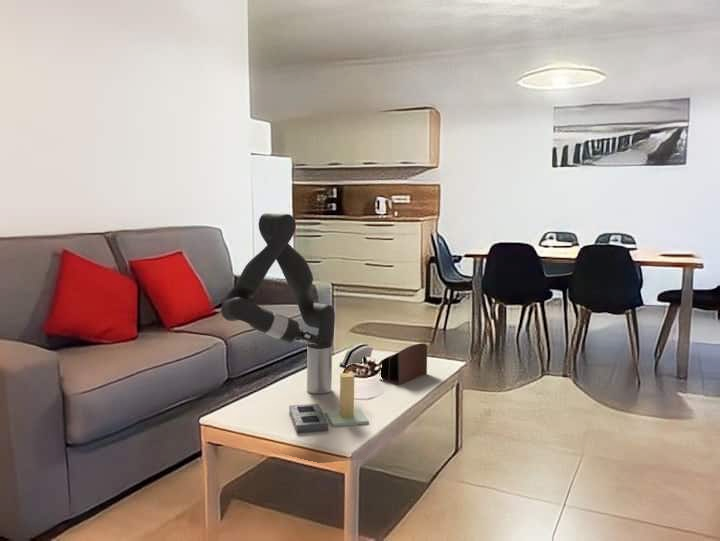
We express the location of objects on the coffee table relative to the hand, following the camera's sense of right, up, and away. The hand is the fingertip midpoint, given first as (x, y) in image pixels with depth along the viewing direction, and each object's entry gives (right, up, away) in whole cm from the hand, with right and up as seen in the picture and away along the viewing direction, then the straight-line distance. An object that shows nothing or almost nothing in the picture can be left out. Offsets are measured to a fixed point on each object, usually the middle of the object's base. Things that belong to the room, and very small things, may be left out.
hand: (322, 344), depth 207 cm
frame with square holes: (-5, -25, -4) cm, 25 cm away
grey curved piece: (+11, -16, +63) cm, 66 cm away
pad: (+8, -25, -1) cm, 26 cm away
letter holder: (+30, -19, +46) cm, 58 cm away
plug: (+8, -24, -1) cm, 25 cm away
